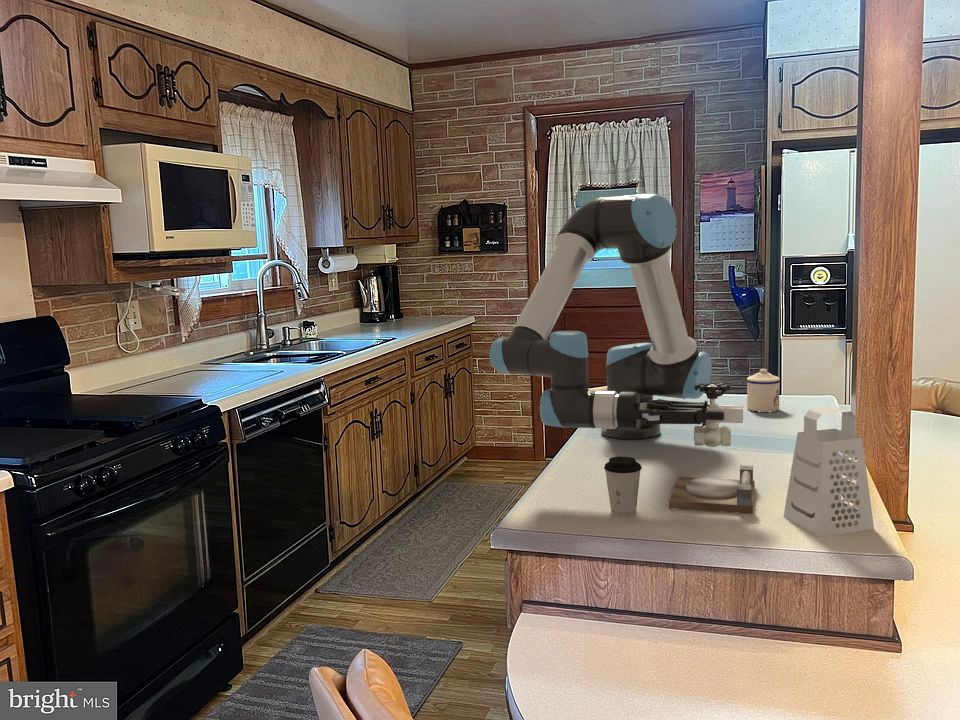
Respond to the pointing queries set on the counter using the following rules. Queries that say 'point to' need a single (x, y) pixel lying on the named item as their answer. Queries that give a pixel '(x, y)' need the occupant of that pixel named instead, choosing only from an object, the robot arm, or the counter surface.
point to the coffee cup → (623, 484)
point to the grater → (828, 477)
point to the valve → (712, 431)
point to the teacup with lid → (763, 392)
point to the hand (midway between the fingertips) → (742, 414)
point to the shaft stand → (715, 493)
